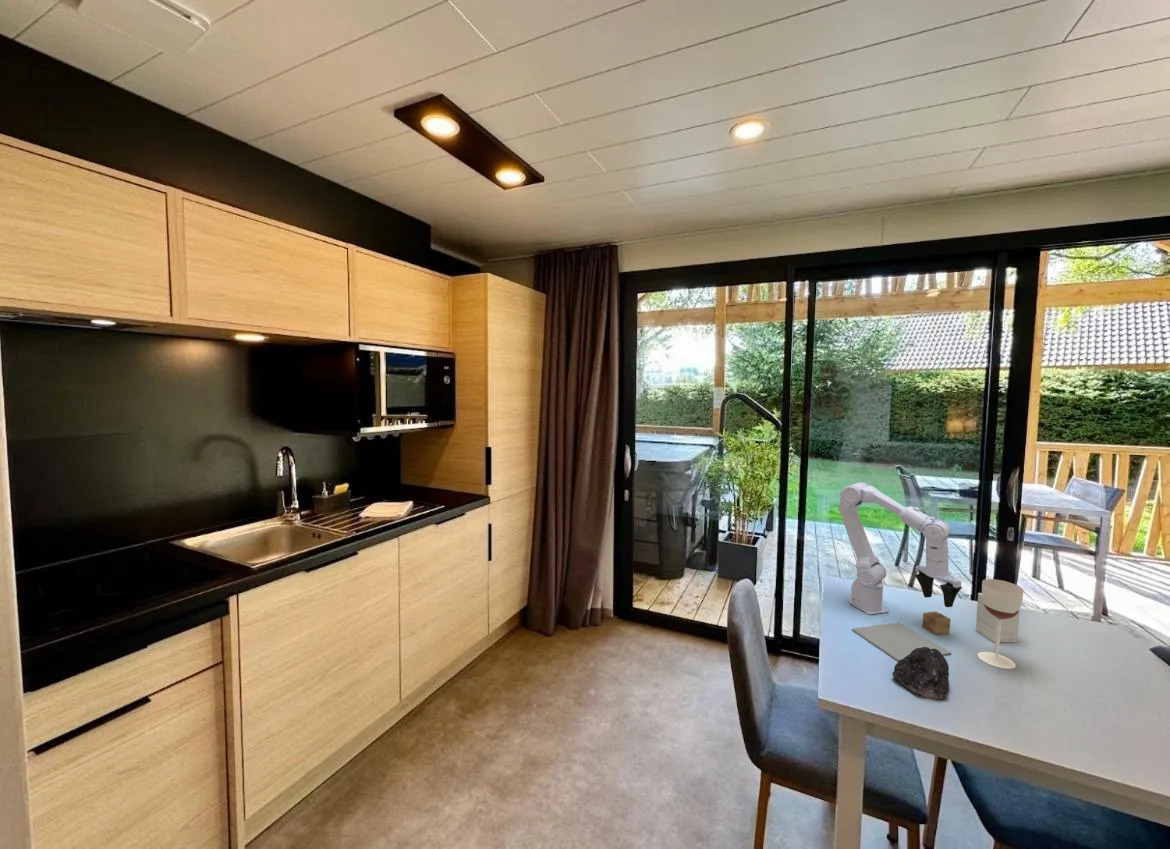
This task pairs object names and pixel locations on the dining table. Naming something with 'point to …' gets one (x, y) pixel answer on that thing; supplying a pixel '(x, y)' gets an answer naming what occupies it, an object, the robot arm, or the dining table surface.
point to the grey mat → (896, 639)
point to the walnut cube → (936, 623)
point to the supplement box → (995, 624)
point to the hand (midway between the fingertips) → (937, 601)
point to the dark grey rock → (924, 672)
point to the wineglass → (1000, 614)
